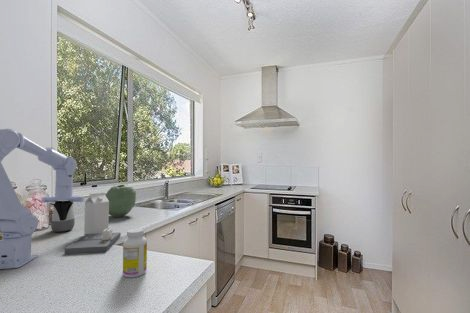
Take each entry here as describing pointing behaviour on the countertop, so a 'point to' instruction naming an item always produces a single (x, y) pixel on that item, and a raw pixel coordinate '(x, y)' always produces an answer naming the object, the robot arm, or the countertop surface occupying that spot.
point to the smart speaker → (65, 224)
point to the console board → (92, 243)
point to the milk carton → (96, 214)
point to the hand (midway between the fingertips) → (63, 220)
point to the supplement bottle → (134, 253)
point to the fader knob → (107, 234)
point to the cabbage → (121, 200)
